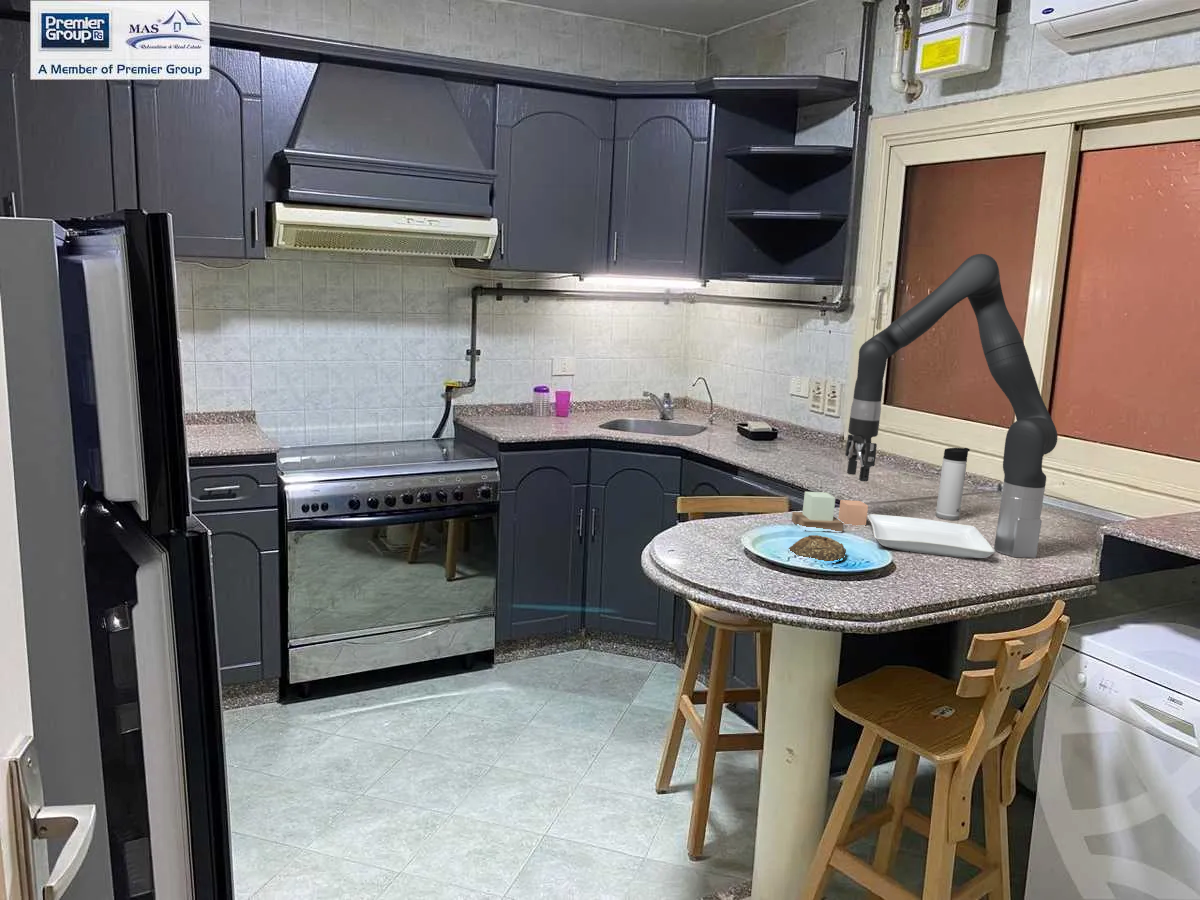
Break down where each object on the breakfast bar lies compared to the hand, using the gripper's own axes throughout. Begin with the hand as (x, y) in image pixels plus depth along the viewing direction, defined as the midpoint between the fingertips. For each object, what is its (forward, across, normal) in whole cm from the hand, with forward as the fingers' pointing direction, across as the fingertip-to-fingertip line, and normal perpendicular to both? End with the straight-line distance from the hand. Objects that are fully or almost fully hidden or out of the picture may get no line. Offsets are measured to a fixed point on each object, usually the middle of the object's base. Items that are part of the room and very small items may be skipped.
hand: (857, 477), depth 247 cm
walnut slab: (+12, -6, +12) cm, 18 cm away
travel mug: (+12, +10, -32) cm, 36 cm away
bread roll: (+13, -33, +21) cm, 41 cm away
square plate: (+13, -18, -12) cm, 25 cm away
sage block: (+10, -6, +12) cm, 17 cm away
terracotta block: (+12, 0, 0) cm, 12 cm away
